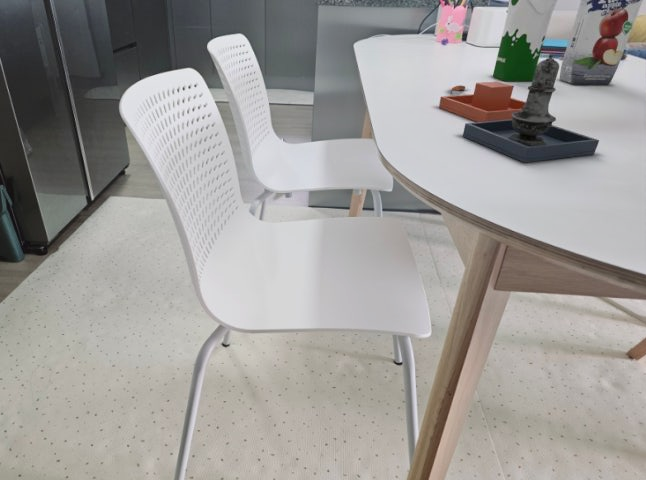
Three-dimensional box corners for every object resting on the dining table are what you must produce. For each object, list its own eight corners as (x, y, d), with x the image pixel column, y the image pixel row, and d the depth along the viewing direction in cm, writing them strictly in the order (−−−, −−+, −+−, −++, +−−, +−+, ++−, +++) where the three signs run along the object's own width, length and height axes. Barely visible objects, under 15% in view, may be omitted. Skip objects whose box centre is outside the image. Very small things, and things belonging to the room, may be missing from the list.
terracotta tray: (491, 103, 93) (493, 92, 92) (542, 119, 82) (545, 107, 81) (438, 107, 89) (440, 96, 88) (484, 124, 79) (487, 112, 78)
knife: (462, 97, 94) (446, 95, 95) (461, 100, 94) (446, 98, 95) (468, 86, 104) (454, 84, 105) (467, 88, 104) (453, 87, 105)
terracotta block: (490, 106, 88) (496, 81, 86) (507, 112, 84) (514, 85, 82) (470, 108, 87) (475, 82, 84) (486, 114, 83) (492, 87, 81)
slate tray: (525, 130, 76) (528, 117, 75) (594, 154, 66) (599, 140, 65) (462, 136, 73) (465, 123, 72) (524, 162, 62) (528, 148, 61)
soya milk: (487, 75, 120) (508, -17, 109) (522, 75, 120) (547, -17, 109) (501, 82, 112) (526, -16, 101) (539, 82, 112) (567, -16, 102)
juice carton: (552, 79, 116) (592, -54, 101) (594, 79, 116) (641, -54, 101) (571, 85, 108) (617, -57, 94) (616, 86, 108) (670, -57, 94)
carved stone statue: (550, 139, 70) (579, 51, 63) (544, 149, 66) (574, 56, 59) (509, 133, 73) (532, 48, 66) (500, 142, 68) (524, 52, 62)
